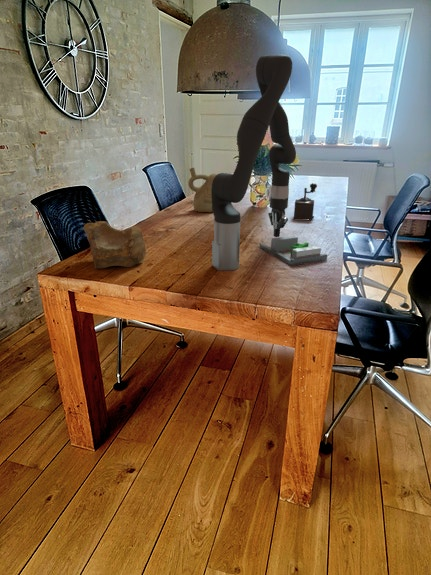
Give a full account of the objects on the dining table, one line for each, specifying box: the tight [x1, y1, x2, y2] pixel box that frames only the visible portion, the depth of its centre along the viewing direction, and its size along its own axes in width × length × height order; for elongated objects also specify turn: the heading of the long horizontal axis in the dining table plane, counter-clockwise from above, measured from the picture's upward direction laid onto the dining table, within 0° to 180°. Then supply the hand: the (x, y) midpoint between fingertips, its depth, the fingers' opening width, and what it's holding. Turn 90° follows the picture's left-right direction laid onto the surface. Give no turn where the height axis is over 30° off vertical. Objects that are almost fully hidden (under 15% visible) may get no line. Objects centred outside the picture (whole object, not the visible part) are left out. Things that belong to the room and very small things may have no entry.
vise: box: [259, 243, 328, 267], centre depth 154 cm, size 16×25×5 cm, turn 23°
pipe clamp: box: [290, 242, 309, 258], centre depth 151 cm, size 11×4×5 cm, turn 145°
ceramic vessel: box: [187, 167, 217, 213], centre depth 223 cm, size 17×20×25 cm
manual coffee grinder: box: [293, 183, 318, 221], centre depth 211 cm, size 16×11×18 cm
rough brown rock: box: [83, 220, 147, 270], centre depth 138 cm, size 23×17×15 cm
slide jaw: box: [270, 235, 299, 252], centre depth 158 cm, size 11×3×5 cm, turn 113°
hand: (276, 236), depth 164 cm, fingers closed
